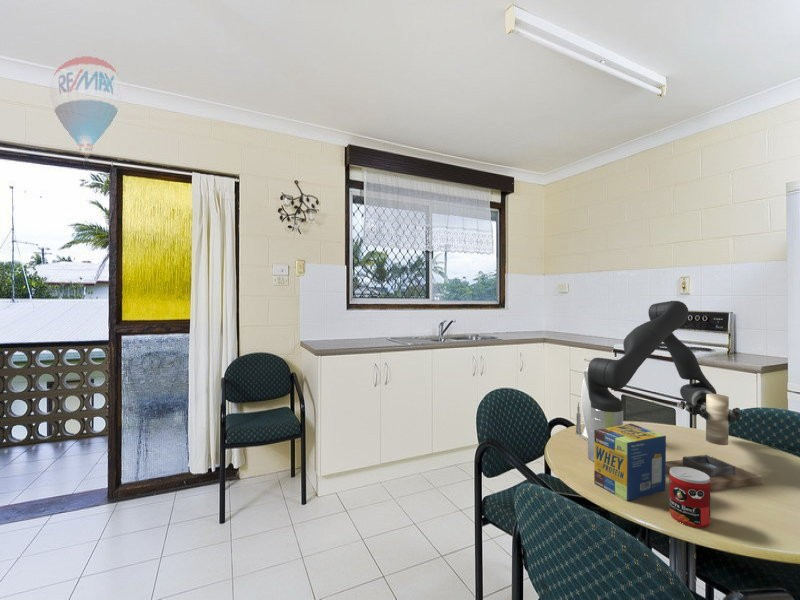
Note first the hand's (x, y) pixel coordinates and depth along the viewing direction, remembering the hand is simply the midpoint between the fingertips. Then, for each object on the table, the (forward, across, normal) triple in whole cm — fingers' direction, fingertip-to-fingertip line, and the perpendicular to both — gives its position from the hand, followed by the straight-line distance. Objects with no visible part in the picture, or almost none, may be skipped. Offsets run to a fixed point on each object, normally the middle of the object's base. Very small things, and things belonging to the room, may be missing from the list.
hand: (719, 417), depth 112 cm
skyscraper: (-17, -35, +18) cm, 43 cm away
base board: (+2, -3, +17) cm, 18 cm away
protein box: (+21, -23, +18) cm, 36 cm away
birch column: (-3, 0, +8) cm, 8 cm away
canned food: (+32, -11, +17) cm, 38 cm away
